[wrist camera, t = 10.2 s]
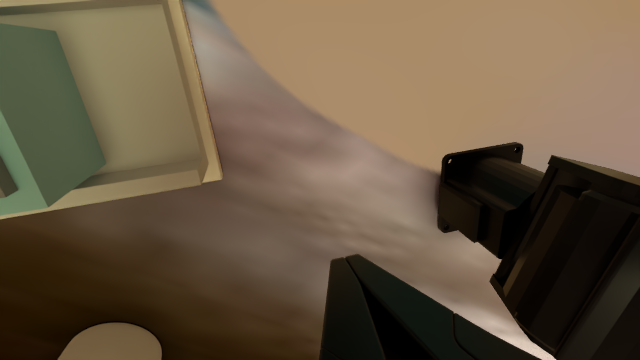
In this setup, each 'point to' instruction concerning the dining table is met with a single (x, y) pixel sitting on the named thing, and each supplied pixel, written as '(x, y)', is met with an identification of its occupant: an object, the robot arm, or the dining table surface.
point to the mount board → (131, 93)
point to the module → (40, 122)
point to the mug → (113, 344)
